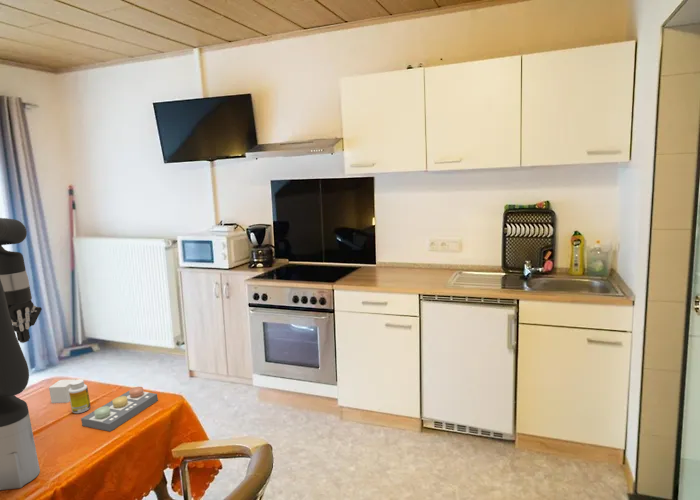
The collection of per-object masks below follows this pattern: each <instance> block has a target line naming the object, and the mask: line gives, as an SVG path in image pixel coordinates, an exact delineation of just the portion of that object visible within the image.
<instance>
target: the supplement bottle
mask: <svg viewBox="0 0 700 500" xmlns="http://www.w3.org/2000/svg"><path fill="white" fill-rule="evenodd" d="M70 387H71V388H70V389H69V397H70V401H69V402H70V406H71V412H72V413H74V414H82V413H85V412H87V411H88V410H89V409H90V408H91V401H90V394H89V390H88V389H89V388H88V385H87V384H85V380H84V379H82V378H80V379H76V380H75V381H72V382H71V383H70Z"/></svg>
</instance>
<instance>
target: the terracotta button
mask: <svg viewBox="0 0 700 500" xmlns="http://www.w3.org/2000/svg"><path fill="white" fill-rule="evenodd" d="M128 391H129V393H130V396H131V397H137V396H140V395H142V394H143V393H144V392H145V390H144V387H143V386H134V387H133V388H130V389H129V390H128Z"/></svg>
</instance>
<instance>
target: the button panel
mask: <svg viewBox="0 0 700 500" xmlns="http://www.w3.org/2000/svg"><path fill="white" fill-rule="evenodd" d="M120 396H126V397H127V400H128V403H127V404H126V405H124V406H121V407H114V406H113V402H112V401H113V399H112V400H111V401H109V402H107V403H105V404H104V405H102V406H101V407H104V406H108V407H110V414H109V415H108V416H106V417H103V418H96V417H95V414H94V411H95V410H93V411H92V412H90V413H88V414H86V415H85V416H83V417H81V419H80V421H81V425H82V427H85V428H90V429H91V428H92V429H96V430H102V431H107V432H109V433H110V432H113V430H115V429H117V428H119V427H120V426H122V425H123V424H124V423H126V422H128V421H130V420H131V419H132V418H135V416H137V415H138V414H140V413H142V412H143V411H145V410H146V409H147V408H149V407H150V406H152V405H154V403H157V402H158V401H159V399H158V393H153V392H149V391H144V393H143V394H142V395H140V396H137V397H131V396H130V393H129V390H127V391H126V392H124V393H123V394H121V395H120ZM120 396H119V395H118V397H120Z"/></svg>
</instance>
